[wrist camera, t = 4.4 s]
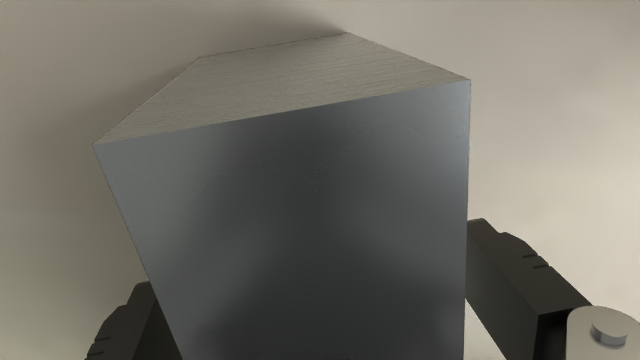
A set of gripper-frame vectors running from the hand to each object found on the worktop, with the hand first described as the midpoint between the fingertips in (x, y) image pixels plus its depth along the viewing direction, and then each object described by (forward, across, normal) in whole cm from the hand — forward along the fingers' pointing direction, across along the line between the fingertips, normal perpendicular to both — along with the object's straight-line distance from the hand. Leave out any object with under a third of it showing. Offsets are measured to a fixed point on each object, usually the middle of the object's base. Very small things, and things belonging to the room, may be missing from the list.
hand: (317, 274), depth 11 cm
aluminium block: (+2, 0, 0) cm, 2 cm away
